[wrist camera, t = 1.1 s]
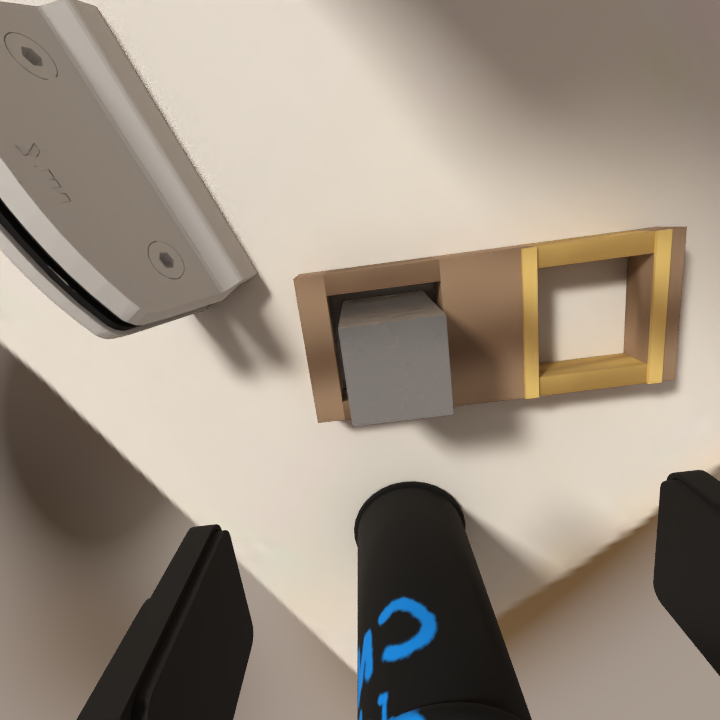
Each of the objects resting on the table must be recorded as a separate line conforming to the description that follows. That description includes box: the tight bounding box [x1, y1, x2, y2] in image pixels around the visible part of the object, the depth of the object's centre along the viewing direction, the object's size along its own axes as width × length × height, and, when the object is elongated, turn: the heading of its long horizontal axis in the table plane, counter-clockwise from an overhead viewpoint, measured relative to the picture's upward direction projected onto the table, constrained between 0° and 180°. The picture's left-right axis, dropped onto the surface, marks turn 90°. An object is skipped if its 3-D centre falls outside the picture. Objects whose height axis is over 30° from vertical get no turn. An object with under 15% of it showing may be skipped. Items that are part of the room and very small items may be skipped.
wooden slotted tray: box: [293, 227, 687, 423], centre depth 27 cm, size 9×22×3 cm, turn 97°
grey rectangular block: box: [338, 291, 454, 427], centre depth 25 cm, size 5×5×8 cm
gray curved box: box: [0, 0, 258, 339], centre depth 22 cm, size 17×5×10 cm, turn 29°
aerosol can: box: [354, 482, 532, 720], centre depth 23 cm, size 8×8×20 cm
